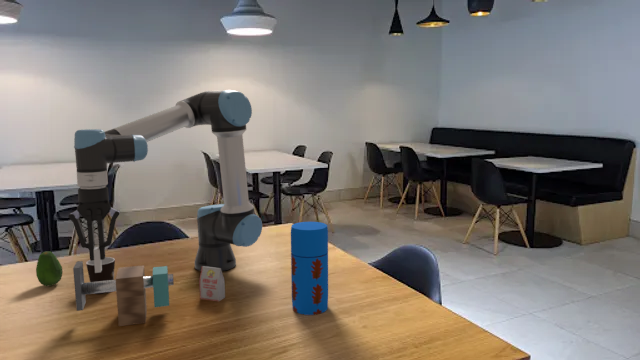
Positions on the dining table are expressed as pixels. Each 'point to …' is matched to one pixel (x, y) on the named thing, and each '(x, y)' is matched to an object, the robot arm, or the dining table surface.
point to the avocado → (48, 269)
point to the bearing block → (131, 295)
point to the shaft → (100, 285)
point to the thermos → (309, 267)
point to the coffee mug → (106, 271)
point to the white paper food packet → (211, 284)
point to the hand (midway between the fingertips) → (98, 271)
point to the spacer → (160, 286)
